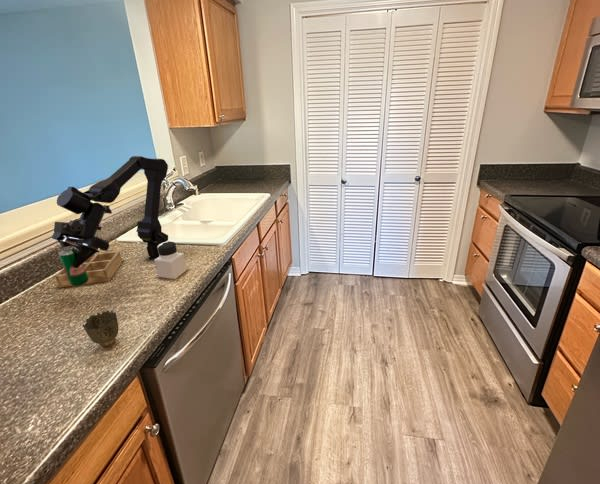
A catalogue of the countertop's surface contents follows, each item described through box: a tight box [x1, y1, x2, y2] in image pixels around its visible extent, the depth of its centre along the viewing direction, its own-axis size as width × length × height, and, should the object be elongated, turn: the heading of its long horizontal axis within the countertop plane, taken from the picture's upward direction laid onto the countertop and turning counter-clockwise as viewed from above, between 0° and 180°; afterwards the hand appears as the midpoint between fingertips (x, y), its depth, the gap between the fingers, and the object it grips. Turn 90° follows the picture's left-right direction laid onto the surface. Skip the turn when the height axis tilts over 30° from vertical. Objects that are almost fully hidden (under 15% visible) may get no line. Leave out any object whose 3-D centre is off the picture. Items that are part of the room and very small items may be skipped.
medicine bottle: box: [154, 240, 188, 280], centre depth 115 cm, size 7×7×12 cm
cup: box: [82, 309, 119, 348], centre depth 83 cm, size 8×7×8 cm
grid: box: [54, 250, 123, 288], centre depth 120 cm, size 16×16×4 cm
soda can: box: [58, 245, 89, 287], centre depth 100 cm, size 5×5×12 cm
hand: (68, 266), depth 99 cm, fingers closed on soda can, 5 cm apart
